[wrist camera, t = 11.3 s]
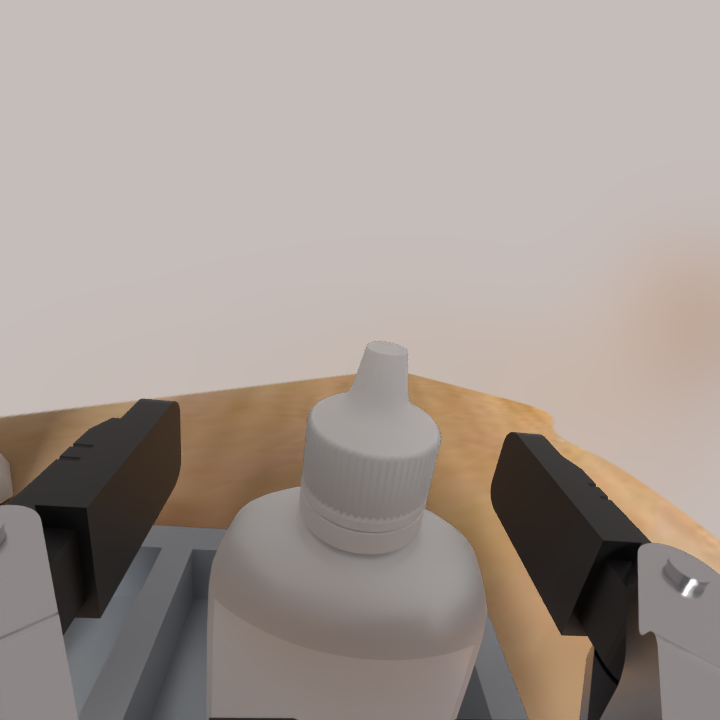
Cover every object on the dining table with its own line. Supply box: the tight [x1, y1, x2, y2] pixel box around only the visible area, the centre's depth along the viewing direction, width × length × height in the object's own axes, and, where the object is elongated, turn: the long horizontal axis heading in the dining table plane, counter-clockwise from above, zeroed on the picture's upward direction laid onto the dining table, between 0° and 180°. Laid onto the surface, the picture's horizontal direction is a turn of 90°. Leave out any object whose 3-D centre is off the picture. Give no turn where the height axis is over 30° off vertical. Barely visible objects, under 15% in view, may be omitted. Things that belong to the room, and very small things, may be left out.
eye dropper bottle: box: [206, 341, 487, 720], centre depth 9 cm, size 4×6×12 cm
